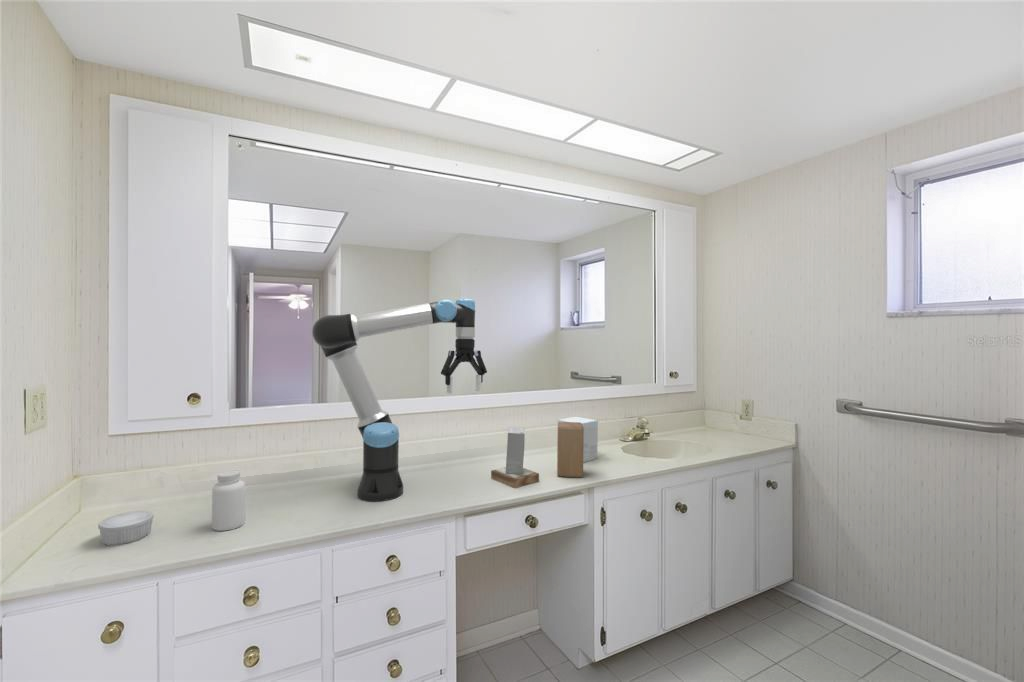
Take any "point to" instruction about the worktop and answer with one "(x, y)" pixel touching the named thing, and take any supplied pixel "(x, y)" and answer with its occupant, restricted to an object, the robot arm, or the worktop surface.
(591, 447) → the supplement box
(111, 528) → the ramekin
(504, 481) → the wooden framed mirror
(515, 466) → the skincare box
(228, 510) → the pill bottle
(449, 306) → the robot arm
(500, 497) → the worktop surface
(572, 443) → the wooden block
